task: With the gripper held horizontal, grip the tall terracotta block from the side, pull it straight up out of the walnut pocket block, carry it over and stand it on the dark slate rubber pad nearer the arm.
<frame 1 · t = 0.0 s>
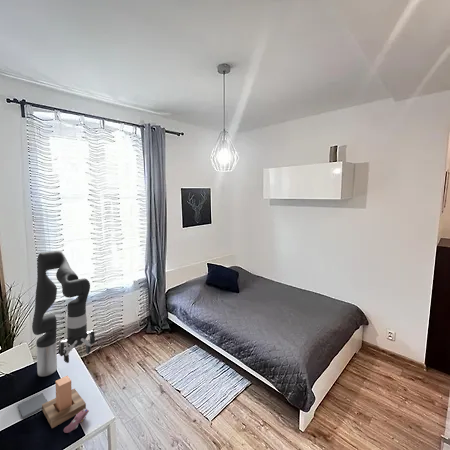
hand: (77, 357, 114), 29 cm above the table, tool pointing down, fingers open, 8 cm apart
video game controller: (77, 425, 113), on the table
slate pad: (33, 405, 122), on the table
terracotta block: (63, 395, 120), in the walnut pocket block
walnut pocket block: (64, 409, 121), on the table
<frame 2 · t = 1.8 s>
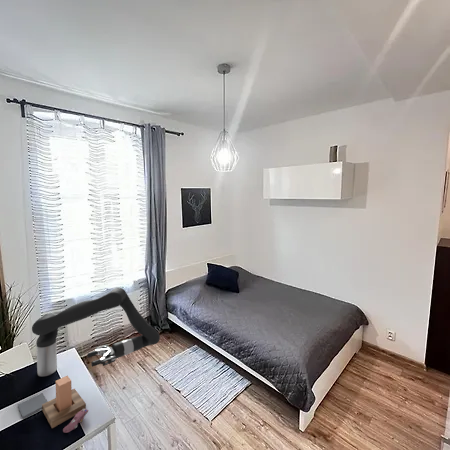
hand: (89, 359, 125), 21 cm above the table, tool horizontal, fingers open, 8 cm apart
nothing on the table moved.
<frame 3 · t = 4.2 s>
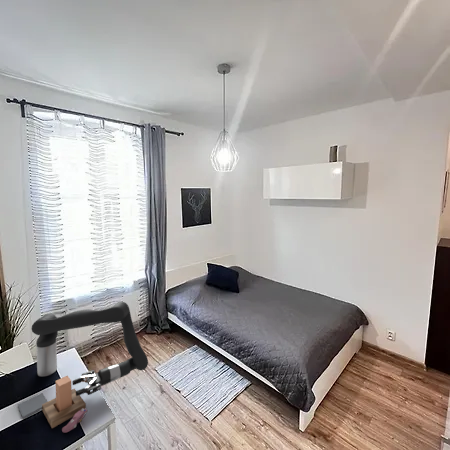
hand: (74, 388, 122), 9 cm above the table, tool horizontal, fingers open, 8 cm apart
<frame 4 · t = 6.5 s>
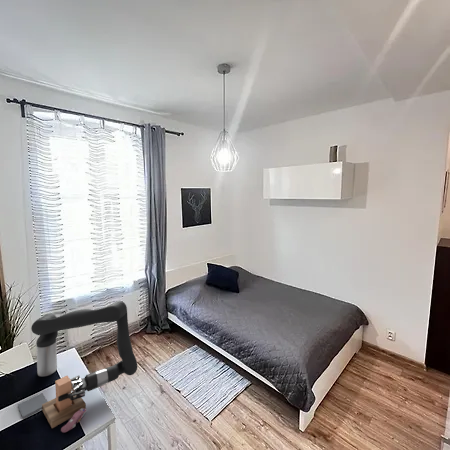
hand: (57, 394, 118), 9 cm above the table, tool horizontal, fingers closed on terracotta block, 5 cm apart
terracotta block: (63, 395, 120), in the walnut pocket block, touching gripper
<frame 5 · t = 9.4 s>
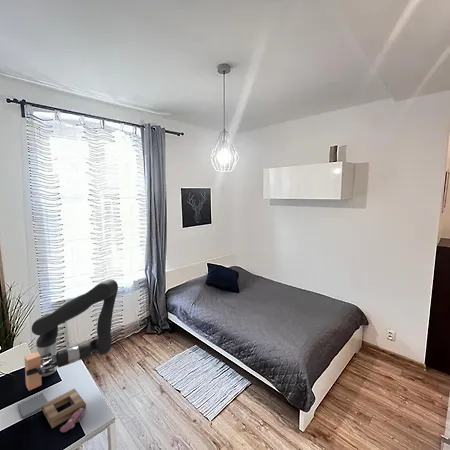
hand: (26, 369, 118), 20 cm above the table, tool horizontal, fingers closed on terracotta block, 5 cm apart
terracotta block: (33, 370, 120), point 18 cm above the table, touching gripper
when the fingers open (11 cm above the table, at t = 12.5 s): terracotta block drops 1 cm, resting on slate pad.
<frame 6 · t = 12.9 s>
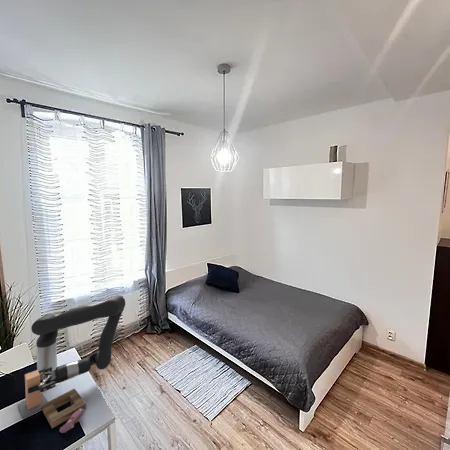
hand: (27, 385, 119), 12 cm above the table, tool horizontal, fingers open, 8 cm apart
terracotta block: (33, 389, 121), on the slate pad, point 8 cm above the table
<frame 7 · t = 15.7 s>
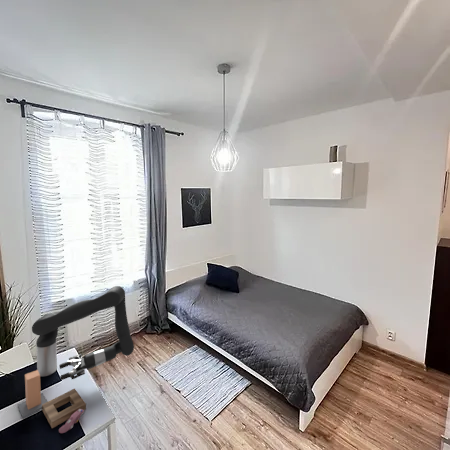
hand: (60, 372, 128), 12 cm above the table, tool horizontal, fingers open, 8 cm apart
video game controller: (72, 425, 113), on the table, touching walnut pocket block
everything else where it was.
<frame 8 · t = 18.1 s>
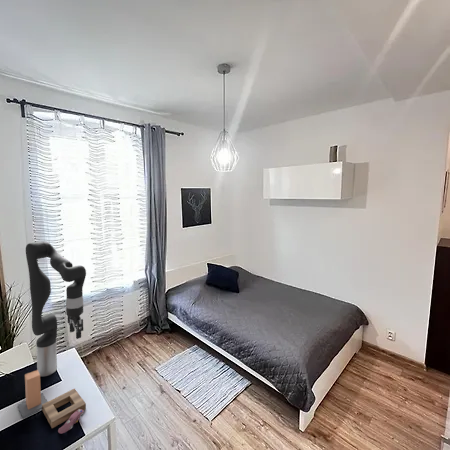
hand: (75, 334, 131), 30 cm above the table, tool pointing down, fingers open, 8 cm apart
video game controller: (71, 426, 113), on the table
everything else where it was.
at the end: terracotta block inside the target area on the slate pad (0.2 cm from its centre), point 8.5 cm above the slate pad's base; terracotta block tilted 0°; the gripper is holding nothing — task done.
